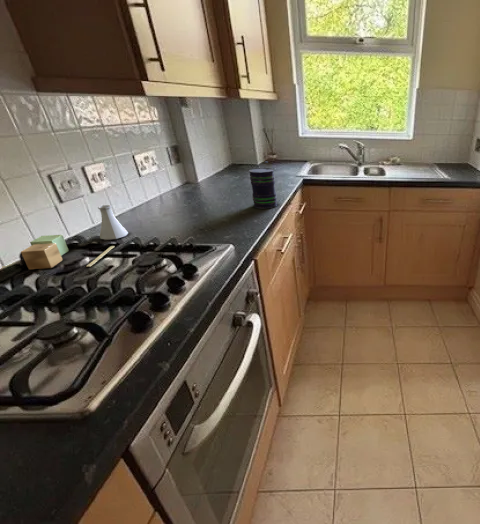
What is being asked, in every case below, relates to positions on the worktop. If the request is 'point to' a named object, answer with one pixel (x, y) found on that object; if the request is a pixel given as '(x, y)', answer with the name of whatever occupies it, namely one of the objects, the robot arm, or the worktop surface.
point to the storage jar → (263, 187)
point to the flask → (110, 224)
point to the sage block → (52, 239)
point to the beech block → (41, 256)
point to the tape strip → (100, 256)
